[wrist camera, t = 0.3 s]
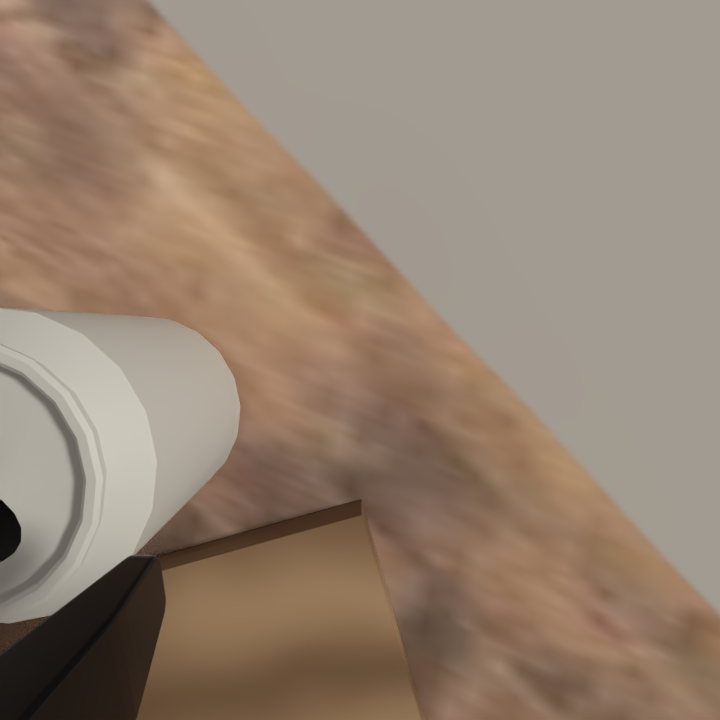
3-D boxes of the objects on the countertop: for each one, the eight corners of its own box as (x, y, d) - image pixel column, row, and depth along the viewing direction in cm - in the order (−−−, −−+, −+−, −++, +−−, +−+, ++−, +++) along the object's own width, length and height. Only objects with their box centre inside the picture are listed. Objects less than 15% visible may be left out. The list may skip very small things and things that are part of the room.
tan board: (438, 766, 25) (445, 805, 23) (168, 839, 25) (151, 884, 23) (361, 499, 24) (361, 514, 22) (85, 576, 24) (60, 599, 22)
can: (43, 469, 24) (-275, 611, 12) (88, 294, 23) (-196, 259, 11) (218, 517, 24) (77, 706, 12) (265, 344, 24) (168, 360, 12)
